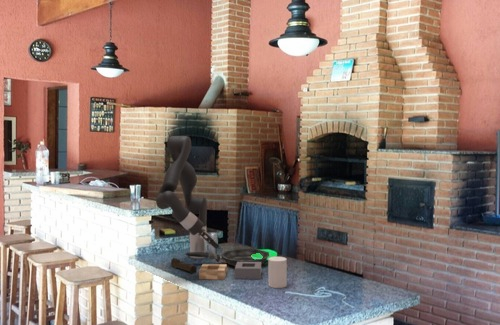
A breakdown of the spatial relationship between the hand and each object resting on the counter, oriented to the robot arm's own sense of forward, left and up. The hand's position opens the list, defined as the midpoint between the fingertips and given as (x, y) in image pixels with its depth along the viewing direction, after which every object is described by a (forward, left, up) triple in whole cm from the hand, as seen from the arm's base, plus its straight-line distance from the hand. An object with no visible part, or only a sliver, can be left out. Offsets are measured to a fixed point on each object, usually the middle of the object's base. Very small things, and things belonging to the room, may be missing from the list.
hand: (216, 246), depth 243 cm
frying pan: (-21, +5, -14) cm, 26 cm away
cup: (+15, +29, -14) cm, 36 cm away
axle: (+1, -2, -6) cm, 6 cm away
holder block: (0, +15, -14) cm, 21 cm away
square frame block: (+1, -2, -14) cm, 14 cm away
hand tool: (-9, -19, -15) cm, 26 cm away
